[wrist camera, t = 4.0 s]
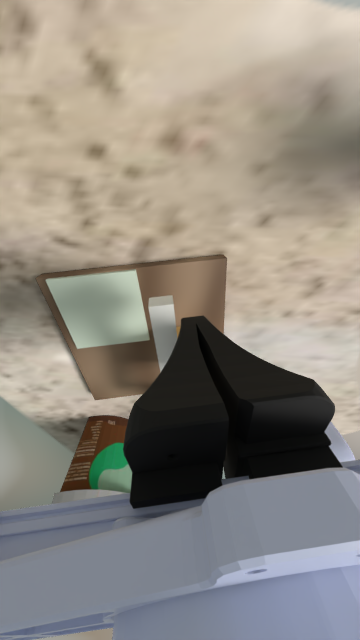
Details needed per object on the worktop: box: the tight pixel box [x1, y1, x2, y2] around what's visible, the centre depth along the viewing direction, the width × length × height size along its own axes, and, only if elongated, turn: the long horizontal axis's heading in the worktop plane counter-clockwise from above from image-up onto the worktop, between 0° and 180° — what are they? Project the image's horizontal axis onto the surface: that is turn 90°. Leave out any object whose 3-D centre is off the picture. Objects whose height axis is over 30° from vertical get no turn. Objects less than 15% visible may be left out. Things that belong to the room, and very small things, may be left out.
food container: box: [52, 415, 132, 504], centre depth 23 cm, size 12×6×10 cm, turn 14°
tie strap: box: [148, 295, 177, 372], centre depth 13 cm, size 2×13×1 cm, turn 5°
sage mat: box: [46, 269, 150, 349], centre depth 16 cm, size 6×6×1 cm
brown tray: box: [36, 255, 227, 400], centre depth 17 cm, size 14×14×6 cm
